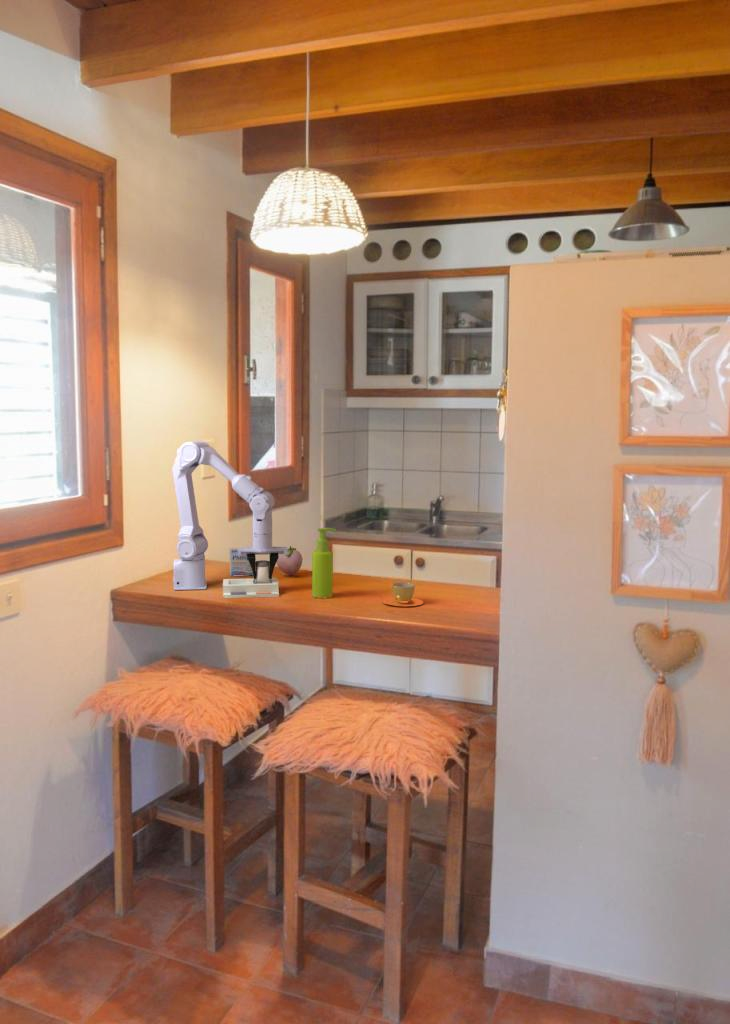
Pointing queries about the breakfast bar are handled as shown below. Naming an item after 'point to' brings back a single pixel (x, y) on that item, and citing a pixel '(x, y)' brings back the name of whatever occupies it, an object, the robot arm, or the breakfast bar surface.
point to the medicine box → (239, 564)
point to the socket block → (249, 588)
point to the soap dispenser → (322, 567)
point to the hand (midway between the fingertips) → (262, 578)
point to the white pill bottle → (262, 572)
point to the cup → (403, 591)
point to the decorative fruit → (290, 561)
